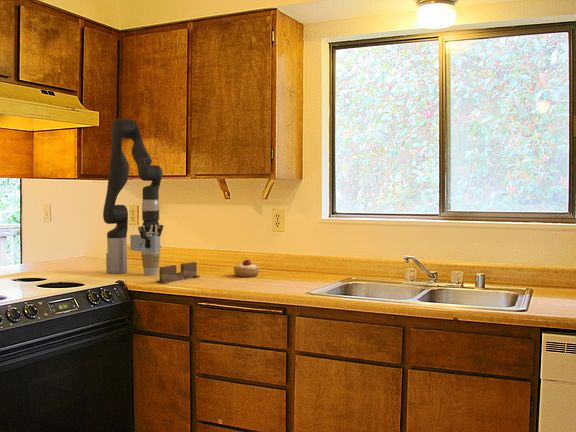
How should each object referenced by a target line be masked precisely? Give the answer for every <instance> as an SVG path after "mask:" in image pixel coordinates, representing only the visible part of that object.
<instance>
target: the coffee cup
mask: <svg viewBox="0 0 576 432" xmlns="http://www.w3.org/2000/svg"><path fill="white" fill-rule="evenodd" d="M161 248H162V246H161V245H160V249H161ZM140 252H141V254H140V255H141V263H142V268H143V275H144V276H147V277H148V276H150V277H152V276H158V272H159V267H160V265H159V264H160V256H161V253H160V252H161V251H160V252H145V251H140Z"/></svg>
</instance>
